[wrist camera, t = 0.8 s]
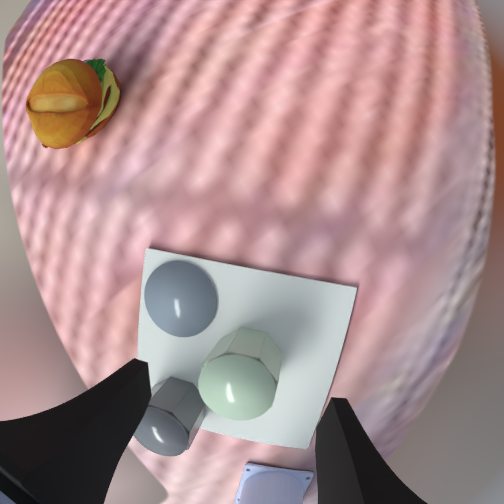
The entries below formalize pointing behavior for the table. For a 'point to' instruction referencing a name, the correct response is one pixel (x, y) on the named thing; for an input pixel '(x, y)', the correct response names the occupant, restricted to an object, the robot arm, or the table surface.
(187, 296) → the coaster
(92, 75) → the cheeseburger
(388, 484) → the robot arm
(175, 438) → the grey acorn nut
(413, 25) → the table surface
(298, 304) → the mat
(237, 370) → the green acorn nut
